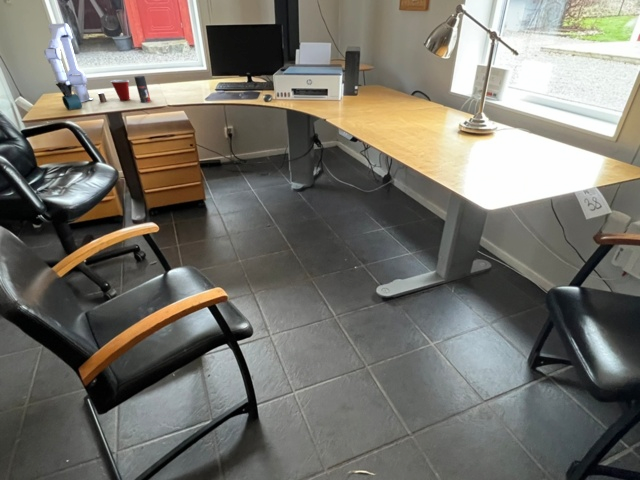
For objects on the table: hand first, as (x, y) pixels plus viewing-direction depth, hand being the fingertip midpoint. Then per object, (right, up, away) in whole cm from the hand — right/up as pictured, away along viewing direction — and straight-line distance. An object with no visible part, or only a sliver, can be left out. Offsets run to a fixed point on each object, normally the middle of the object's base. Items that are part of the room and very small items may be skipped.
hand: (68, 96), depth 228 cm
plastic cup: (+22, +6, +23) cm, 33 cm away
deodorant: (+39, +3, +17) cm, 42 cm away
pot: (+3, -1, +5) cm, 6 cm away
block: (+10, +4, +19) cm, 22 cm away
